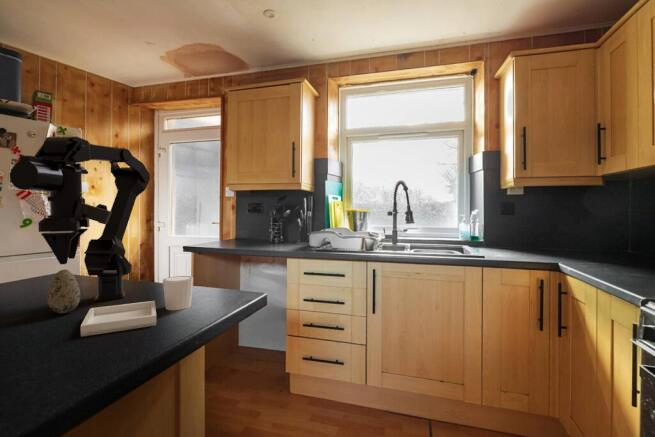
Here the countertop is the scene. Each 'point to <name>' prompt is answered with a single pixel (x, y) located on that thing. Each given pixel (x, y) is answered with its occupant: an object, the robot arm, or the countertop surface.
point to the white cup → (178, 292)
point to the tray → (119, 318)
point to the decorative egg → (63, 292)
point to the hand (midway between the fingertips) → (67, 261)
